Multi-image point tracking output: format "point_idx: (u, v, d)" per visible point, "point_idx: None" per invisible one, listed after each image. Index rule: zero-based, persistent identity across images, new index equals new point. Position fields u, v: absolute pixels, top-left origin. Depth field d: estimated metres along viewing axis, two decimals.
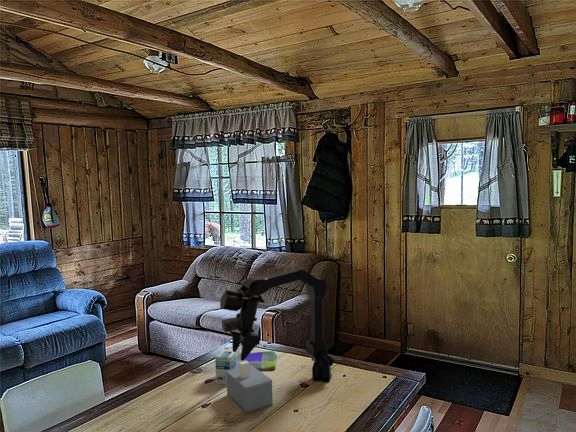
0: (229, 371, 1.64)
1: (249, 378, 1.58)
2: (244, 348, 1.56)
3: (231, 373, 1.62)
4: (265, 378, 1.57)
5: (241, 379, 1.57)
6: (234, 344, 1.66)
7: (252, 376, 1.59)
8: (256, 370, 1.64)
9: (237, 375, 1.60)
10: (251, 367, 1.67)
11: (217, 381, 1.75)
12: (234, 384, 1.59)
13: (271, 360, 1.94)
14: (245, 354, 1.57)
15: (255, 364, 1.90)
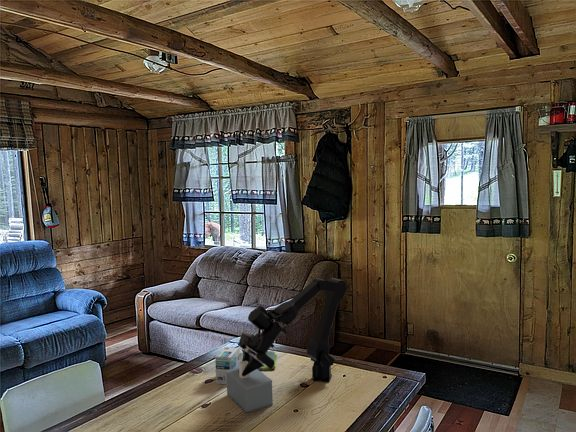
0: (229, 371, 1.64)
1: (249, 378, 1.58)
2: (251, 364, 1.57)
3: (231, 373, 1.62)
4: (265, 378, 1.57)
5: (241, 379, 1.57)
6: None
7: (252, 376, 1.59)
8: (256, 370, 1.64)
9: (237, 375, 1.60)
10: None
11: (217, 381, 1.75)
12: (234, 384, 1.59)
13: None
14: (248, 371, 1.58)
15: None
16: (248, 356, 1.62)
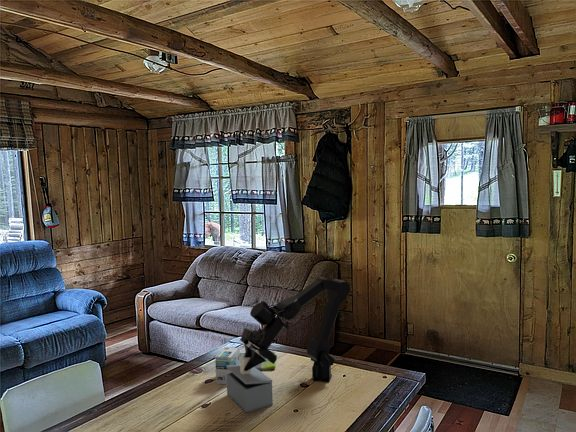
0: (229, 366, 1.64)
1: (249, 375, 1.58)
2: (253, 359, 1.58)
3: (231, 368, 1.62)
4: (265, 377, 1.57)
5: (241, 374, 1.57)
6: None
7: (252, 374, 1.59)
8: (256, 370, 1.64)
9: (237, 370, 1.60)
10: None
11: (217, 381, 1.75)
12: (234, 384, 1.59)
13: None
14: (250, 366, 1.58)
15: None
16: (250, 351, 1.62)
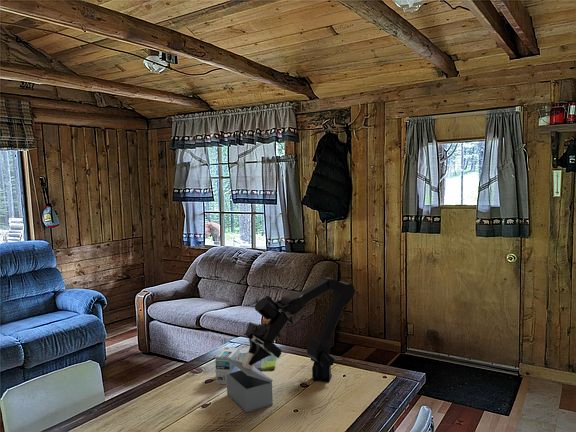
0: (232, 359, 1.64)
1: (251, 370, 1.58)
2: (258, 353, 1.58)
3: (234, 361, 1.62)
4: (266, 376, 1.57)
5: (244, 367, 1.57)
6: None
7: (254, 370, 1.59)
8: (257, 369, 1.64)
9: (240, 364, 1.61)
10: None
11: (217, 381, 1.75)
12: (234, 384, 1.59)
13: (271, 360, 1.94)
14: (255, 360, 1.59)
15: (255, 364, 1.90)
16: (255, 346, 1.63)
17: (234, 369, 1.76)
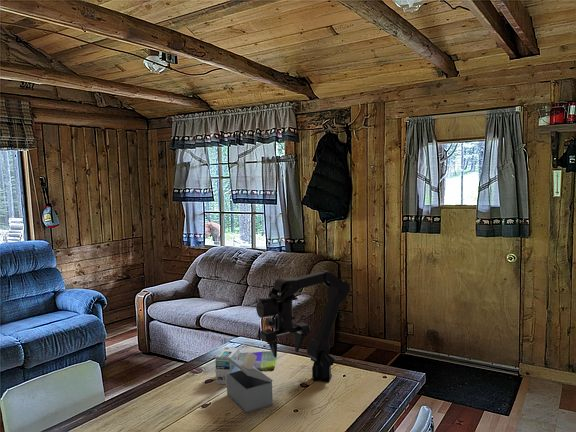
0: (232, 359, 1.64)
1: (251, 370, 1.58)
2: (270, 345, 1.65)
3: (234, 361, 1.62)
4: (266, 376, 1.57)
5: (244, 367, 1.57)
6: (296, 345, 1.70)
7: (254, 370, 1.59)
8: (257, 369, 1.64)
9: (240, 364, 1.61)
10: None
11: (217, 381, 1.75)
12: (234, 384, 1.59)
13: (271, 360, 1.94)
14: (273, 352, 1.64)
15: (254, 364, 1.90)
16: (296, 334, 1.70)
17: (234, 369, 1.76)
